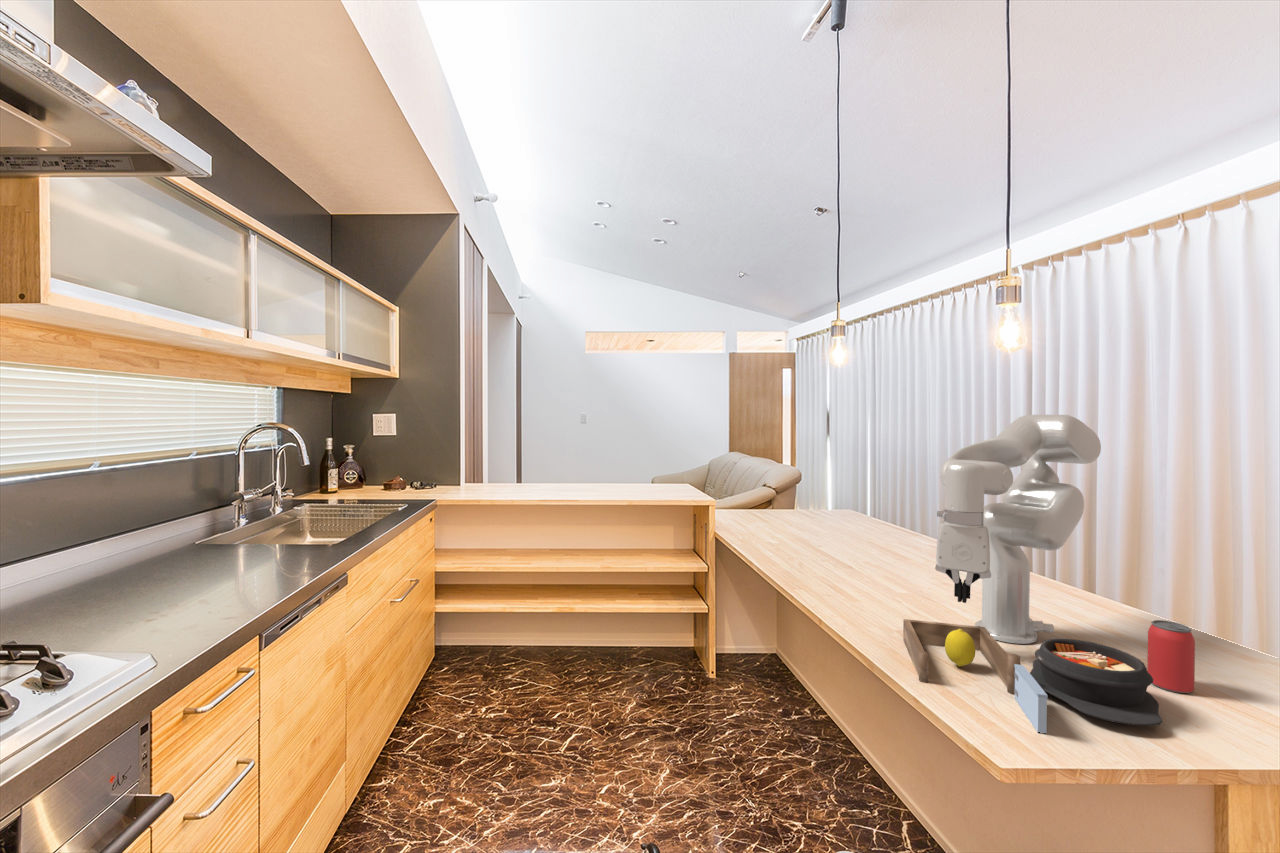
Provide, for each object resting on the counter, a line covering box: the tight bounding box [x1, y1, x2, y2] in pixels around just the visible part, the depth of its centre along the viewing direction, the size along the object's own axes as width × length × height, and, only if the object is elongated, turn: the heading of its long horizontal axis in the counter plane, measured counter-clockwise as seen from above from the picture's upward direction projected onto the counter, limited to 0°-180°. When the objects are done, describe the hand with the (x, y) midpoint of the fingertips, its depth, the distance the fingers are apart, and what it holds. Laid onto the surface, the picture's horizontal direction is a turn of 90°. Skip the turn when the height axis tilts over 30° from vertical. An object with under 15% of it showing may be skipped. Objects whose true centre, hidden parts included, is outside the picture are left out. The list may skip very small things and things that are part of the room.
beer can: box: [1146, 619, 1196, 694], centre depth 106 cm, size 7×7×12 cm
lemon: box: [944, 629, 976, 668], centre depth 114 cm, size 6×6×8 cm
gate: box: [1014, 664, 1049, 734], centre depth 96 cm, size 12×1×6 cm, turn 161°
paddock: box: [902, 618, 1021, 696], centre depth 115 cm, size 17×22×7 cm
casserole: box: [1029, 638, 1163, 727], centre depth 102 cm, size 25×19×8 cm
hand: (962, 600), depth 121 cm, fingers closed
